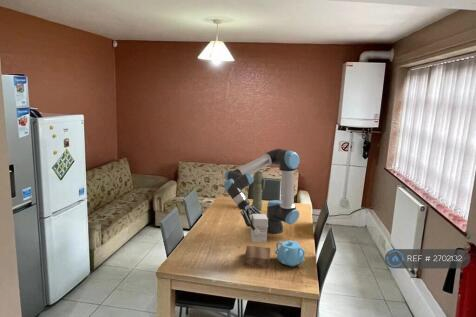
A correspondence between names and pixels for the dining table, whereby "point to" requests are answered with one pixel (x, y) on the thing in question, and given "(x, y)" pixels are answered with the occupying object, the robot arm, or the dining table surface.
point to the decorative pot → (290, 253)
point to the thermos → (258, 190)
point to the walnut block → (257, 256)
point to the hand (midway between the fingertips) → (262, 230)
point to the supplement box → (259, 227)
